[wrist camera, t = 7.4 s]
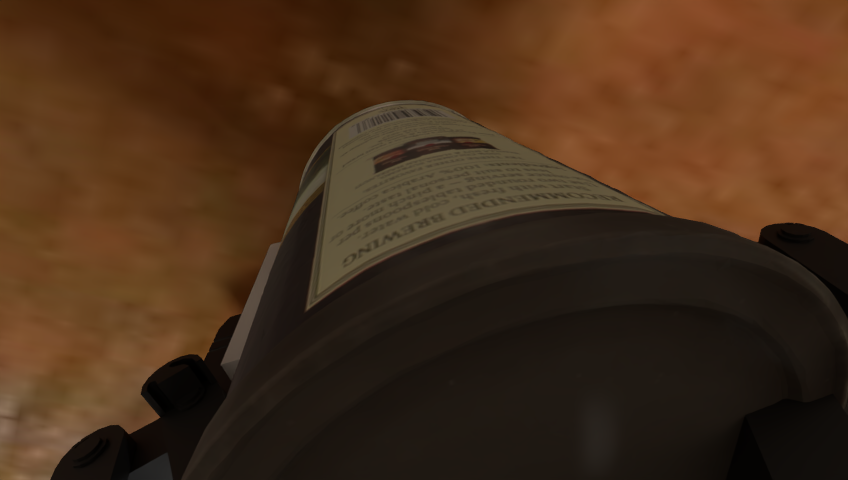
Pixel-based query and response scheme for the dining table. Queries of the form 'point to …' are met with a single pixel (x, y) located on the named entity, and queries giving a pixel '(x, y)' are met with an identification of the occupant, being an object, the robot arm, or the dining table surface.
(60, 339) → the dining table surface
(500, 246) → the coffee can
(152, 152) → the dining table surface
